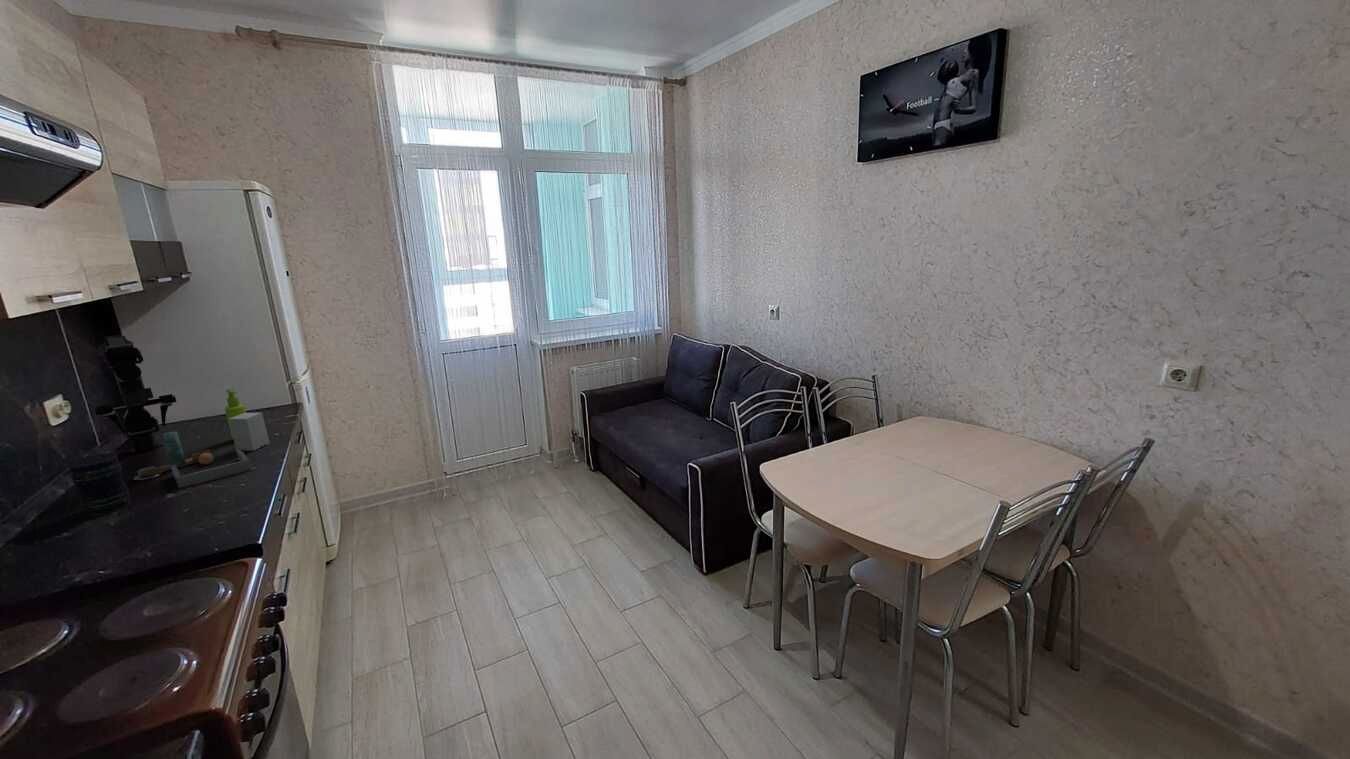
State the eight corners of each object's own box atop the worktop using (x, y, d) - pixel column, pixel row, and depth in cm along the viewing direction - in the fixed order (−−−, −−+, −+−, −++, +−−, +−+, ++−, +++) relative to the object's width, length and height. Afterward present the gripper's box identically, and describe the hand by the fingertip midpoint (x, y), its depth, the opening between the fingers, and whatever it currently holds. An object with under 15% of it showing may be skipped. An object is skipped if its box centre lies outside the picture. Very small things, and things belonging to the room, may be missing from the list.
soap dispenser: (236, 442, 205) (223, 392, 200) (230, 439, 209) (218, 390, 204) (254, 438, 210) (243, 389, 205) (249, 434, 214) (237, 386, 209)
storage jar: (100, 517, 151) (84, 468, 147) (74, 514, 153) (57, 465, 149) (140, 500, 160) (126, 454, 156) (115, 498, 162) (100, 452, 158)
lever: (141, 479, 174) (130, 444, 171) (137, 476, 177) (126, 442, 173) (214, 458, 190) (205, 426, 187) (209, 456, 192) (200, 424, 189)
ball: (204, 462, 188) (201, 451, 187) (217, 461, 188) (214, 450, 187) (196, 466, 184) (193, 455, 183) (209, 465, 184) (206, 455, 183)
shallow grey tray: (173, 475, 177) (170, 466, 176) (242, 458, 190) (240, 449, 189) (179, 488, 167) (176, 478, 166) (251, 469, 181) (249, 459, 180)
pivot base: (137, 482, 173) (137, 481, 172) (130, 477, 176) (130, 477, 176) (166, 474, 178) (165, 473, 178) (158, 470, 182) (158, 469, 182)
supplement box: (270, 443, 204) (263, 412, 200) (253, 451, 197) (246, 418, 193) (252, 443, 204) (245, 412, 201) (235, 451, 197) (227, 418, 194)
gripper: (86, 388, 161) (101, 438, 163) (169, 376, 174) (183, 422, 176) (90, 390, 169) (105, 438, 171) (169, 378, 182) (182, 423, 184)
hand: (144, 430), depth 175 cm, fingers open, 9 cm apart
